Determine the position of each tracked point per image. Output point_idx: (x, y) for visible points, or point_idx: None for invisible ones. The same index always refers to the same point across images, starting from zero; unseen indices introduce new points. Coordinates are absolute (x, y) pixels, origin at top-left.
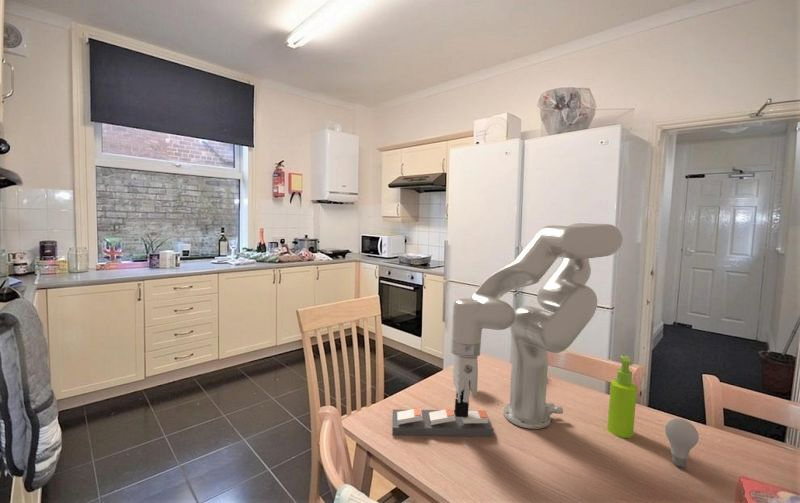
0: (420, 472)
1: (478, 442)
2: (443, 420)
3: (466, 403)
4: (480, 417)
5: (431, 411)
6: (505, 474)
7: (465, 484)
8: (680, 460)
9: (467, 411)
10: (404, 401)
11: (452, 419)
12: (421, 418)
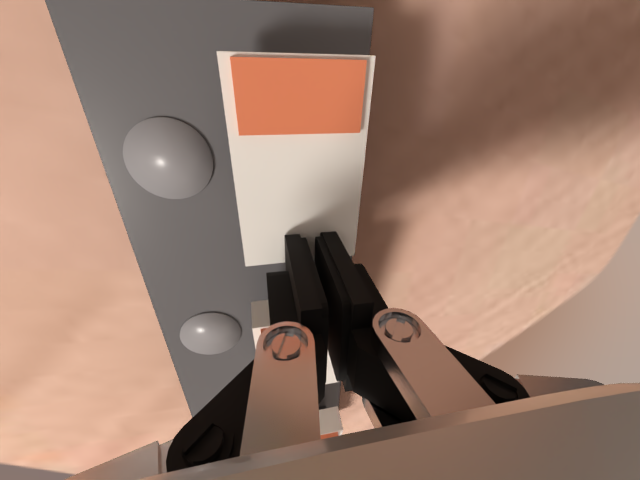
0: (500, 334)
1: (399, 137)
2: None
3: (369, 313)
4: (352, 131)
5: (192, 366)
6: (635, 58)
7: (593, 227)
8: None
9: (346, 255)
10: (65, 436)
11: None
12: (339, 416)
